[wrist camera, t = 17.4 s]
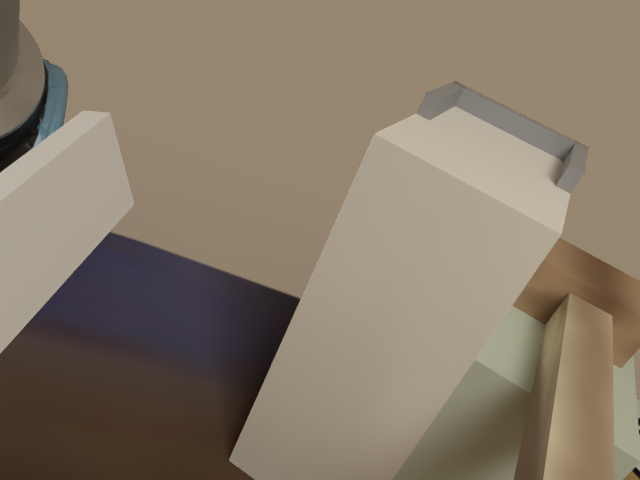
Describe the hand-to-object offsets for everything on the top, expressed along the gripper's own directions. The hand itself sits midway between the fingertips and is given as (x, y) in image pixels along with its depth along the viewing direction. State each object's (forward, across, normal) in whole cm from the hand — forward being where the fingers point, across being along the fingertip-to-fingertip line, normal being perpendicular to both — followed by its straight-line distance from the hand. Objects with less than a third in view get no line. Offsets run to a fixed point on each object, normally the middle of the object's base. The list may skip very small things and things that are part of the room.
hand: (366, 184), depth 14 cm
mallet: (+11, +9, -20) cm, 25 cm away
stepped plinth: (+17, -1, -39) cm, 43 cm away
